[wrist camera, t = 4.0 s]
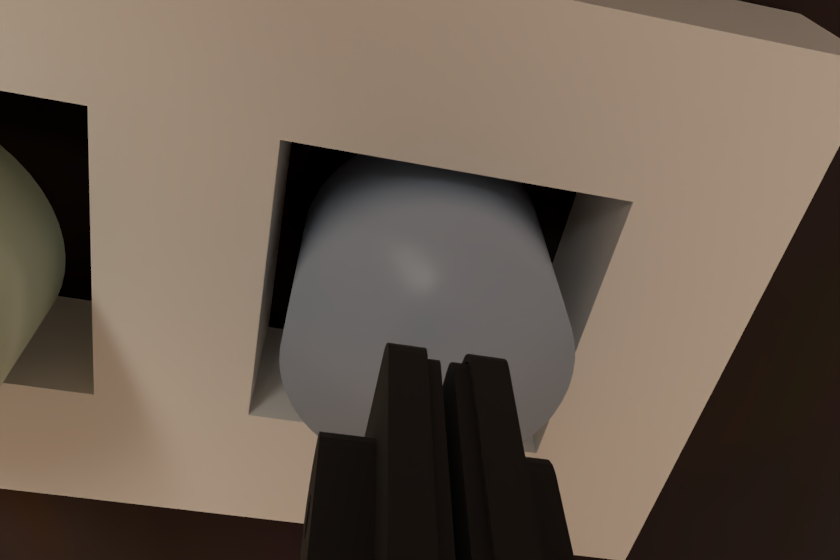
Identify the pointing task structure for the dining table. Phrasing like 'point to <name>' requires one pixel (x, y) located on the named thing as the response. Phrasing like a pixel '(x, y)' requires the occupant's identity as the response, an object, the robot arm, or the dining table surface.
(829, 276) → the dining table surface
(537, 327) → the button slate
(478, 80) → the console
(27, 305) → the button sage
